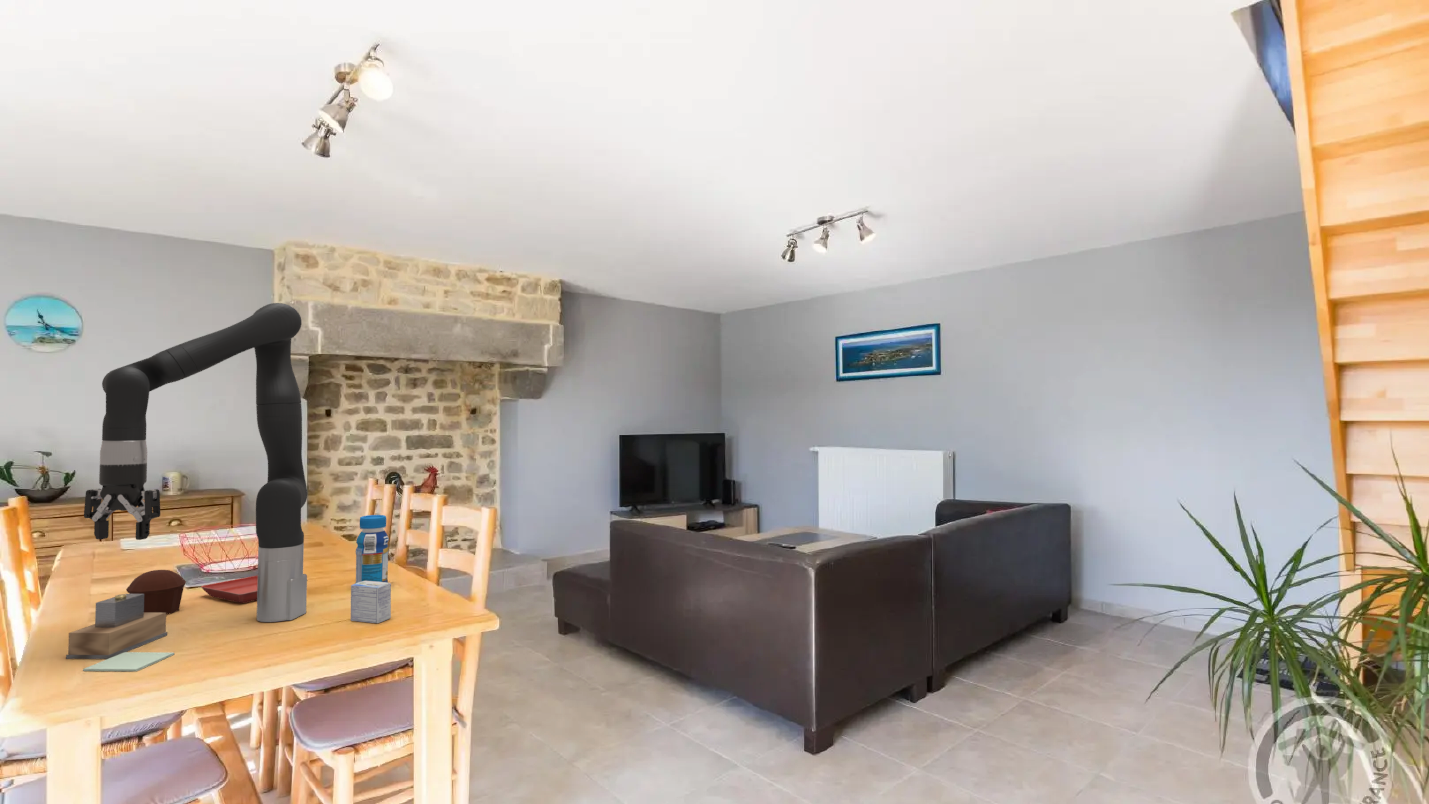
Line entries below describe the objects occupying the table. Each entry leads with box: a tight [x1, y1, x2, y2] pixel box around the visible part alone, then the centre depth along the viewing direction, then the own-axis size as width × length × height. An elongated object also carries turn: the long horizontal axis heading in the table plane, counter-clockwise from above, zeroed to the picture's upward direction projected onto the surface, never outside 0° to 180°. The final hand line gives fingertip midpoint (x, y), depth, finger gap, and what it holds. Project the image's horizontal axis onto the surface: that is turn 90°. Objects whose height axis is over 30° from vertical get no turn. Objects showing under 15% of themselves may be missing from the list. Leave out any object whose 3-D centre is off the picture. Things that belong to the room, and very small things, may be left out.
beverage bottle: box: [355, 514, 390, 583], centre depth 190 cm, size 8×8×20 cm
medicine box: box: [350, 581, 392, 624], centre depth 160 cm, size 8×4×9 cm, turn 74°
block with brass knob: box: [94, 593, 144, 628], centre depth 141 cm, size 4×7×6 cm, turn 0°
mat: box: [82, 651, 175, 672], centre depth 131 cm, size 10×9×1 cm
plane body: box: [65, 612, 168, 660], centre depth 140 cm, size 8×14×5 cm, turn 0°
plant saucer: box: [200, 574, 309, 604], centre depth 182 cm, size 18×18×3 cm
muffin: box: [125, 569, 187, 616], centre depth 164 cm, size 12×11×10 cm
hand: (121, 539), depth 141 cm, fingers open, 8 cm apart
